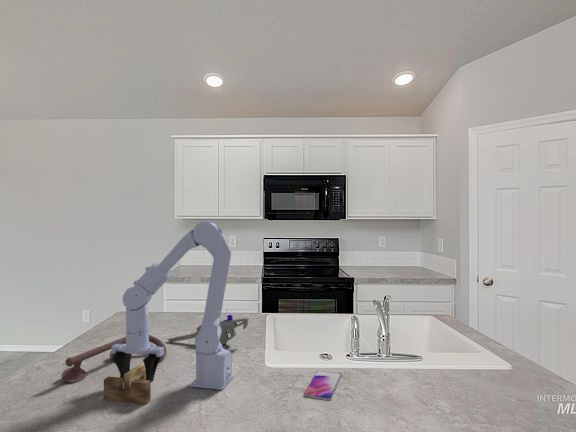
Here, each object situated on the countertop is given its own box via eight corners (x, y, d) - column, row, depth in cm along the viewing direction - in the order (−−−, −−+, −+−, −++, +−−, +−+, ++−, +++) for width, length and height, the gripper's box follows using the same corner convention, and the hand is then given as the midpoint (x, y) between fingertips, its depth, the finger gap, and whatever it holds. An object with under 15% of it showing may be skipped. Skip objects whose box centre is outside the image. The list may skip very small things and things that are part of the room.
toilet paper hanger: (103, 389, 89) (61, 353, 95) (95, 412, 90) (54, 375, 96) (177, 350, 115) (140, 324, 121) (170, 368, 116) (134, 341, 122)
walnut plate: (150, 400, 85) (150, 380, 86) (146, 404, 84) (146, 383, 84) (108, 396, 88) (108, 376, 88) (103, 399, 86) (103, 379, 86)
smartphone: (341, 373, 99) (330, 399, 84) (341, 376, 99) (330, 402, 84) (317, 369, 101) (302, 394, 87) (317, 372, 101) (302, 397, 87)
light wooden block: (145, 378, 98) (145, 360, 98) (150, 379, 97) (150, 361, 97) (123, 394, 89) (123, 374, 89) (129, 394, 89) (129, 375, 89)
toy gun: (250, 342, 122) (246, 313, 122) (167, 350, 127) (163, 322, 127) (251, 340, 124) (247, 312, 124) (169, 348, 129) (166, 321, 129)
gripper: (169, 327, 96) (170, 376, 96) (124, 324, 99) (124, 372, 99) (154, 335, 89) (155, 388, 89) (106, 332, 92) (106, 383, 92)
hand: (137, 380), depth 93 cm, fingers open, 7 cm apart
